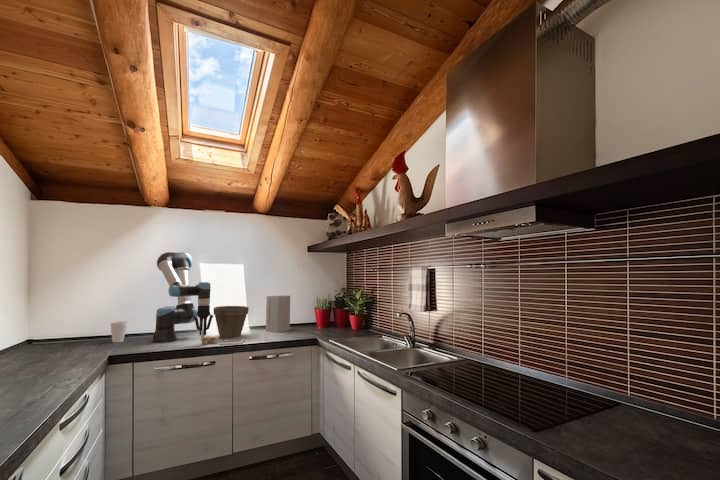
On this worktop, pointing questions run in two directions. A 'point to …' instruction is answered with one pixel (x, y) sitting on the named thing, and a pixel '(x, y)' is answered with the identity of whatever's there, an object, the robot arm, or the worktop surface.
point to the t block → (209, 340)
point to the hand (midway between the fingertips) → (202, 340)
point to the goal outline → (232, 343)
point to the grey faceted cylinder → (277, 313)
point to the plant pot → (230, 320)
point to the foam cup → (118, 331)
